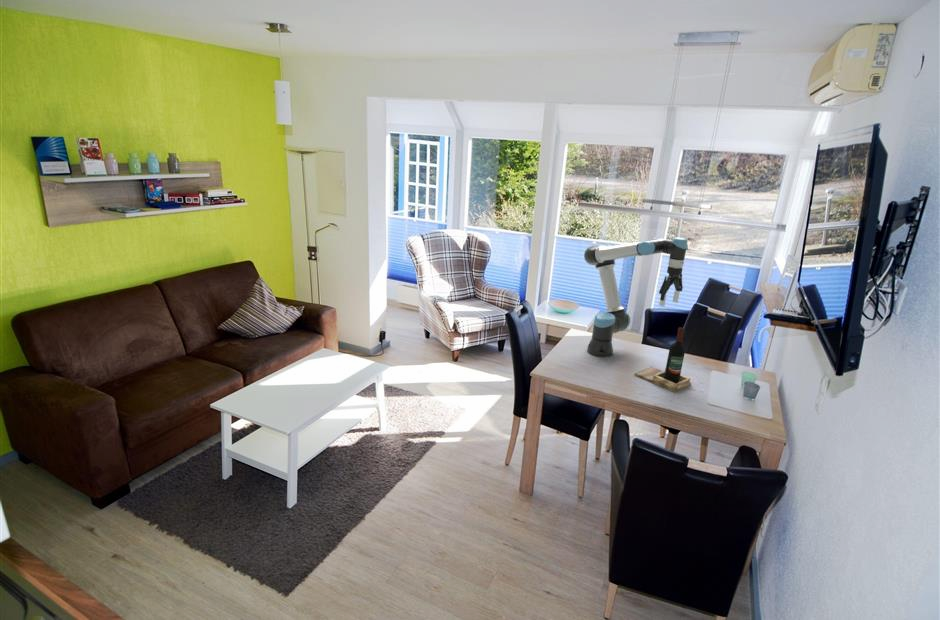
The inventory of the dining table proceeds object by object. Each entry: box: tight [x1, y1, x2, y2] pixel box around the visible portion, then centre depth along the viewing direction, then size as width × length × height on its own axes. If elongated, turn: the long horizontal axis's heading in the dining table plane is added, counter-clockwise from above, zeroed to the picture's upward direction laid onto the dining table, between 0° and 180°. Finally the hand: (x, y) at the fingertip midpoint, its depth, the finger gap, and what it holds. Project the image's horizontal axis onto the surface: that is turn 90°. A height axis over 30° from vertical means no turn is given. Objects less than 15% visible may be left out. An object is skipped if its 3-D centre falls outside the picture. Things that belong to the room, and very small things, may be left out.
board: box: [634, 366, 692, 393], centre depth 272 cm, size 24×16×4 cm, turn 39°
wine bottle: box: [664, 327, 686, 383], centre depth 263 cm, size 8×8×30 cm
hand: (668, 304), depth 280 cm, fingers open, 13 cm apart
